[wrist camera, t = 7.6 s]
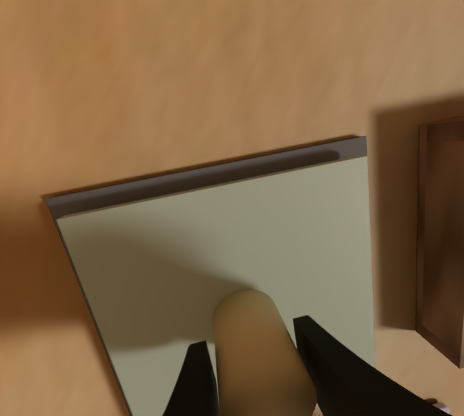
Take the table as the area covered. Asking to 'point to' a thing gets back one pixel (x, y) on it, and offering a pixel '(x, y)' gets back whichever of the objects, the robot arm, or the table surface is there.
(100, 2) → the table surface
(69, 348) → the table surface
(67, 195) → the charcoal mat
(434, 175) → the walnut box
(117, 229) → the lid
